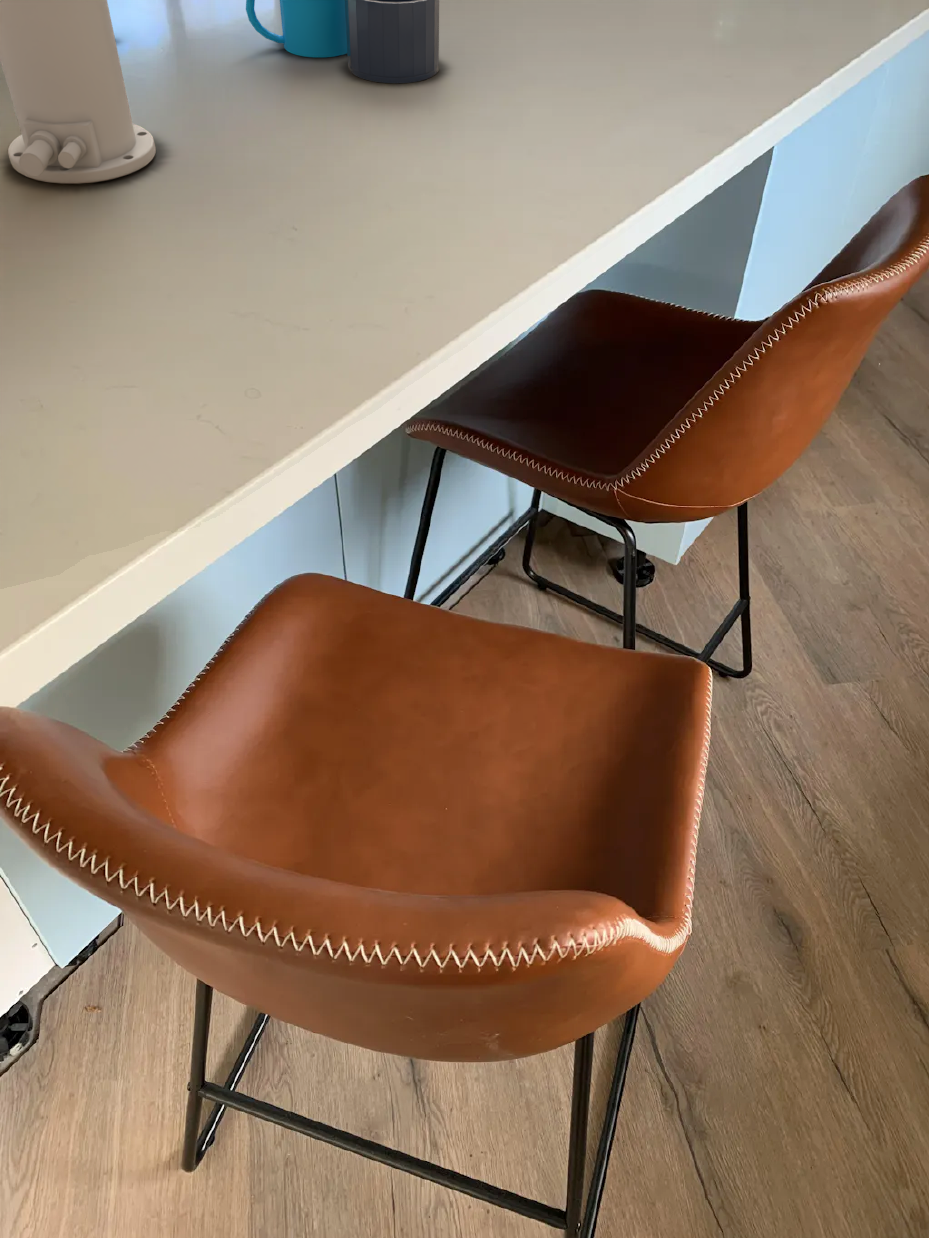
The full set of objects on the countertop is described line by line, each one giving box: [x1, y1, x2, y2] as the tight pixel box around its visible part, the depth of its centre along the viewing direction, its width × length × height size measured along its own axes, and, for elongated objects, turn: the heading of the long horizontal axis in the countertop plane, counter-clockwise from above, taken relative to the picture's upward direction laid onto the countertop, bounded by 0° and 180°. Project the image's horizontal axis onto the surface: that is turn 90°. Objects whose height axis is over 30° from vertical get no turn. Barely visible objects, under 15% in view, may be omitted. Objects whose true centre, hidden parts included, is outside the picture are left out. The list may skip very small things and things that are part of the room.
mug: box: [245, 0, 347, 58], centre depth 107 cm, size 12×8×8 cm
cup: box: [345, 0, 440, 84], centre depth 103 cm, size 10×10×8 cm
